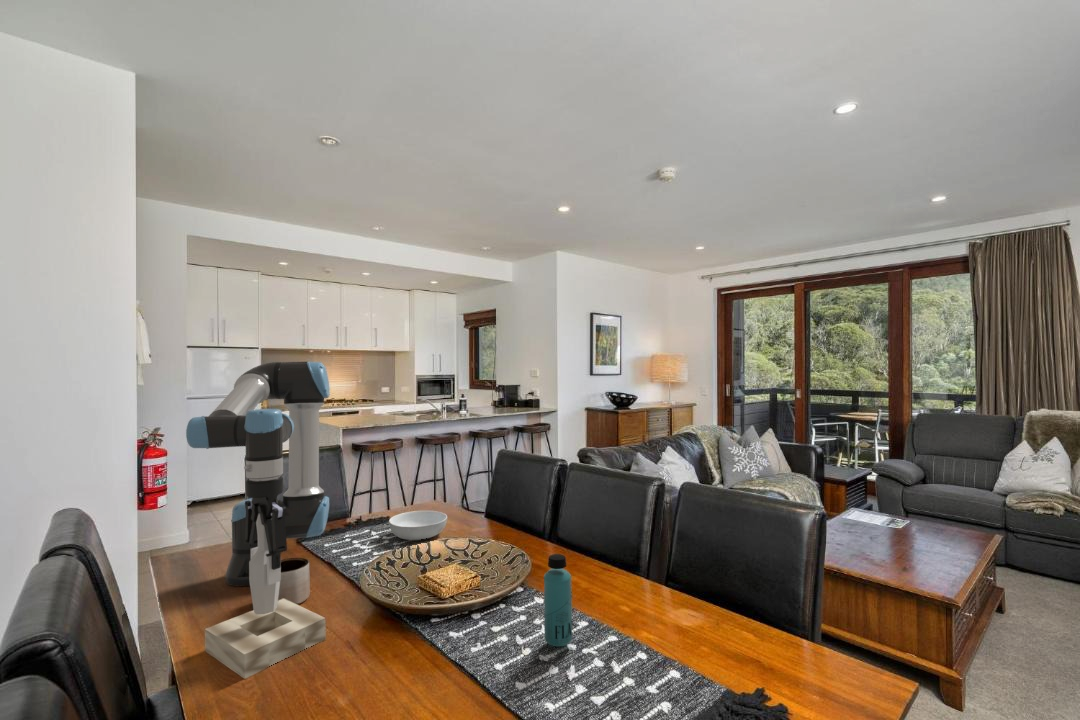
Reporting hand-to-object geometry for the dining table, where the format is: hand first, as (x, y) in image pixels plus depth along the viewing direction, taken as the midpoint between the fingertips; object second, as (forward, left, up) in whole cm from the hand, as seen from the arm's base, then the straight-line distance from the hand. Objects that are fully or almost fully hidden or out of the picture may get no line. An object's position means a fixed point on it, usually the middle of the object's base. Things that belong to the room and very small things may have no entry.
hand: (265, 578), depth 118 cm
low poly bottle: (0, 0, -7) cm, 7 cm away
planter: (-15, -18, -15) cm, 28 cm away
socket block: (0, 0, -15) cm, 15 cm away
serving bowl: (-70, -28, -15) cm, 77 cm away
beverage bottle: (-37, +55, -15) cm, 68 cm away
